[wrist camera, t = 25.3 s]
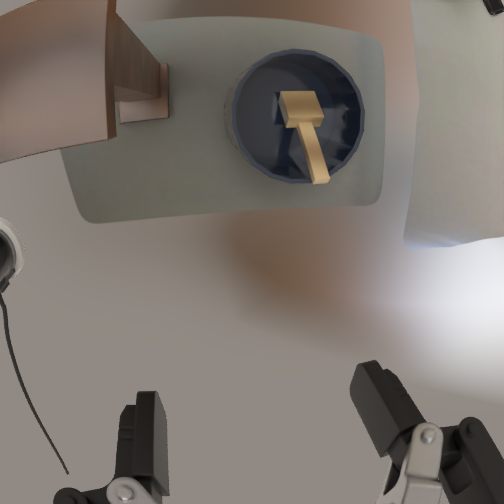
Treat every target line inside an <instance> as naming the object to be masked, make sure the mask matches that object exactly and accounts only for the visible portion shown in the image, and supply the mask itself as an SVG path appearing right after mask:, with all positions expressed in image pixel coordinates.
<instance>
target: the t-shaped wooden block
mask: <svg viewBox="0 0 504 504" xmlns="http://www.w3.org/2000/svg"><path fill="white" fill-rule="evenodd" d="M278 103H279V106H280V109H281V113H282V116H283V119H284V123H285V126H286V128H295V127H297V131H298V134H299V137H300V141H301V144H302V147H303V151H304V154H305V157H306V161H307V164H308V168H309V171H310V175H311V179H312V182H313V184H322V183H328V181H329V180H330V177H329V173H328V170H327V167H326V164H325V160H324V157H323V154H322V151H321V148H320V145H319V142H318V139H317V136H316V133H315V130H314V127H320V125H321V123H322V121H323V118H324V115H323V112H322V109H321V107H320V104H319V102H318V99H317V97H316V94H315V92H314V91H281V92H280V97H279V101H278Z"/></svg>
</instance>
